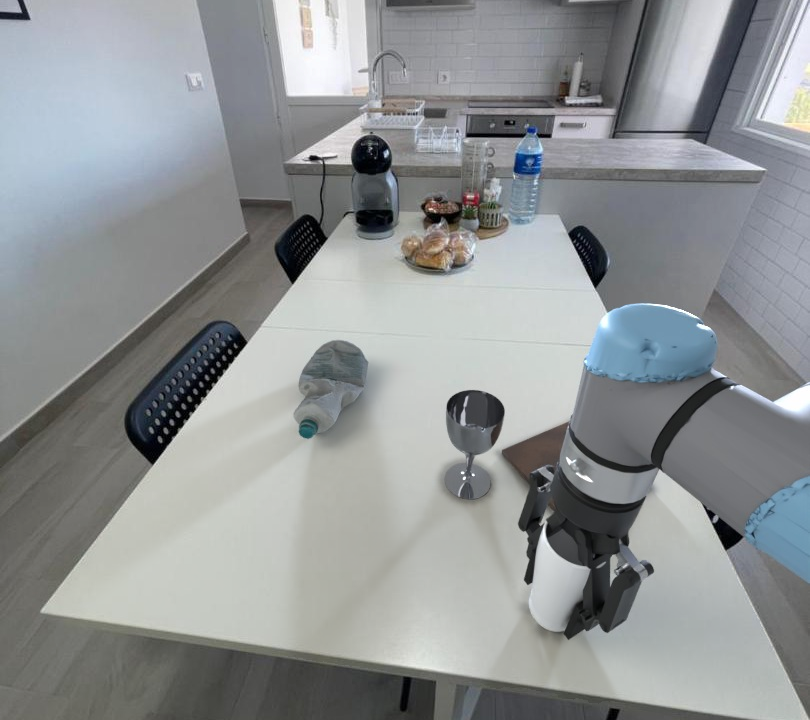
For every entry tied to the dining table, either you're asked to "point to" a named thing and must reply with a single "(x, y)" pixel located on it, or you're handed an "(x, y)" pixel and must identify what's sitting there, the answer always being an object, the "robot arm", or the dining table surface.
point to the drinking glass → (556, 580)
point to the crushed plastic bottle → (329, 385)
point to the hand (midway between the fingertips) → (553, 602)
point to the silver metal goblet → (472, 439)
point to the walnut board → (537, 453)
